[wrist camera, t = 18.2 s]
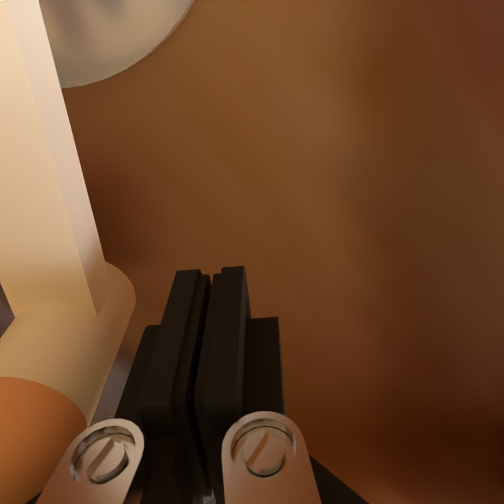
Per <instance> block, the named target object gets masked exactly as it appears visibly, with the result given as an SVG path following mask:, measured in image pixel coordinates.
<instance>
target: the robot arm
mask: <svg viewBox="0 0 504 504" xmlns="http://www.w3.org/2000/svg"><path fill="white" fill-rule="evenodd" d="M212 489H213V492H214V496H215V499H216V503H217V504H369V503H368V502H366V501H365V500H364V499H363V498H361V497H360V496H359V495H358V494H356V493H355V492H354V491H353V490H352V489H350V488H349V487H348V486H347V485H345V484H344V483H343V482H342V481H340V480H339V479H338V478H337V477H336V476H334V475H333V474H332V473H331V472H329V471H328V470H327V469H326V468H324V467H323V466H322V465H321V464H320V463H318V462H317V461H316V460H315V459H313V458H312V457H311V456H310V455H308V451H307V448H306V444H305V440H304V438H303V435H302V433H301V431H300V429H299V427H298V426H297V425H296V424H295V423H294V422H293V421H292V420H291V419H289V418H287V417H286V416H285V404H284V387H283V371H282V356H281V343H280V331H279V320H278V317H269V318H254V319H252V318H251V310H250V303H249V295H248V287H247V279H246V272H245V267H244V266H236V267H223V268H222V270H221V274H214V276H213V281H212V287H211V281H210V277H209V275H208V274H207V275H202V273H201V271H200V269H196V270H182V271H177V272H176V275H175V278H174V282H173V285H172V288H171V292H170V295H169V298H168V302H167V305H166V308H165V312H164V315H163V318H162V322H161V325H148V326H147V327H146V328H145V330H144V333H143V335H142V338H141V341H140V344H139V347H138V350H137V353H136V356H135V359H134V362H133V365H132V368H131V371H130V373H129V376H128V379H127V382H126V385H125V388H124V391H123V394H122V397H121V400H120V403H119V406H118V408H117V411H116V414H115V417H114V419H108V420H105V421H102V422H98V423H96V424H94V425H92V426H91V427H89V428H87V429H85V430H84V431H83V432H82V433H81V434H80V435H78V436H77V437H76V438H75V439H74V440H73V442H72V443H71V444H70V446H69V447H68V448H67V450H66V451H65V453H64V455H63V457H62V458H61V460H60V462H59V464H58V465H57V467H56V469H55V470H54V472H53V474H52V476H51V477H50V479H49V481H48V483H47V484H46V486H45V488H44V490H42V491H41V492H40V493H38V494H37V495H36V496H34V497H33V498H32V499H30V500H29V501H28V502H26V503H25V504H202V503H203V497H207V496H211V494H212Z"/></svg>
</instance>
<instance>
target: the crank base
mask: <svg viewBox="0 0 504 504" xmlns="http://www.w3.org/2000/svg"><path fill="white" fill-rule="evenodd" d="M38 1H39V5H40V9H41V13H42V17H43V21H44V25H45V29H46V33H47V37H48V40H49V44H50V48H51V52H52V56H53V60H54V64H55V68H56V72H57V76H58V80H59V84H60V87H61V89H63V88H70V87H77V86H83V85H87V84H90V83H94V82H97V81H100V80H104V79H106V78H108V77H110V76H113V75H115V74H117V73H119V72H121V71H123V70H125V69H127V68H129V67H130V66H132V65H133V64H135V63H137V62H138V61H140V60H141V59H143V58H144V57H145V56H147V55H148V54H150V53H151V52H153V51H154V50H155V49H156V48H158V47H159V46H160V45H161V44H162V43H163V42H164V41H165V40H166V39H167V38H168V37H169V36H170V35H172V33H173V32H174V31H175V30H176V28H177V27H178V26H179V25H180V23H181V22H182V21H183V20H184V18H185V17H186V16H187V14H188V13H189V11H190V9H191V8H192V6H193V4H194V3H195V1H196V0H38Z"/></svg>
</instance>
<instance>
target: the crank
mask: <svg viewBox="0 0 504 504" xmlns="http://www.w3.org/2000/svg"><path fill="white" fill-rule="evenodd" d="M0 283H1V286H2V288H3V290H4V293H5V295H6V297H7V300H8V302H9V304H10V307H11V309H12V311H13V314H14V316H15V319H14V320H13V322H12V323H11V325H10V326H9V327H8V329H7V330H6V331H5V333H4V334H3V336H2V337H1V338H0V504H25V503H26V502H28V501H29V500H30V499H32V498H33V497H34V496H36V495H37V494H38V493H40V492H41V491H42V490H44V488H45V486H46V484H47V483H48V481H49V479H50V477H51V476H52V474H53V472H54V470H55V469H56V467H57V465H58V464H59V462H60V460H61V458H62V457H63V455H64V453H65V451H66V450H67V448H68V447H69V446H70V444H71V443H72V442H73V440H74V439H75V438H76V437H77V436H78V435H80V434H81V433H82V432H83V431H84V430H85V429H87V428H89V426H90V423H91V421H92V418H93V416H94V413H95V410H96V408H97V405H98V402H99V400H100V397H101V394H102V392H103V389H104V387H105V384H106V381H107V379H108V376H109V373H110V371H111V368H112V366H113V363H114V360H115V358H116V355H117V352H118V350H119V347H120V344H121V342H122V339H123V337H124V334H125V331H126V329H127V326H128V323H129V321H130V318H131V315H132V313H133V310H134V308H135V304H136V294H135V290H134V287H133V285H132V283H131V282H130V280H129V279H128V277H127V276H126V275H125V274H124V273H123V272H122V271H121V270H119V269H118V268H117V267H115V266H113V265H112V264H110V263H108V262H106V261H105V260H104V256H103V252H102V248H101V244H100V240H99V236H98V232H97V228H96V224H95V220H94V217H93V213H92V209H91V205H90V201H89V197H88V193H87V189H86V185H85V181H84V177H83V173H82V170H81V166H80V162H79V158H78V154H77V150H76V146H75V142H74V138H73V134H72V130H71V127H70V123H69V119H68V115H67V111H66V107H65V103H64V99H63V95H62V91H61V87H60V84H59V80H58V76H57V72H56V68H55V64H54V60H53V56H52V52H51V48H50V44H49V40H48V37H47V33H46V29H45V25H44V21H43V17H42V13H41V9H40V5H39V1H38V0H0Z"/></svg>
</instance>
